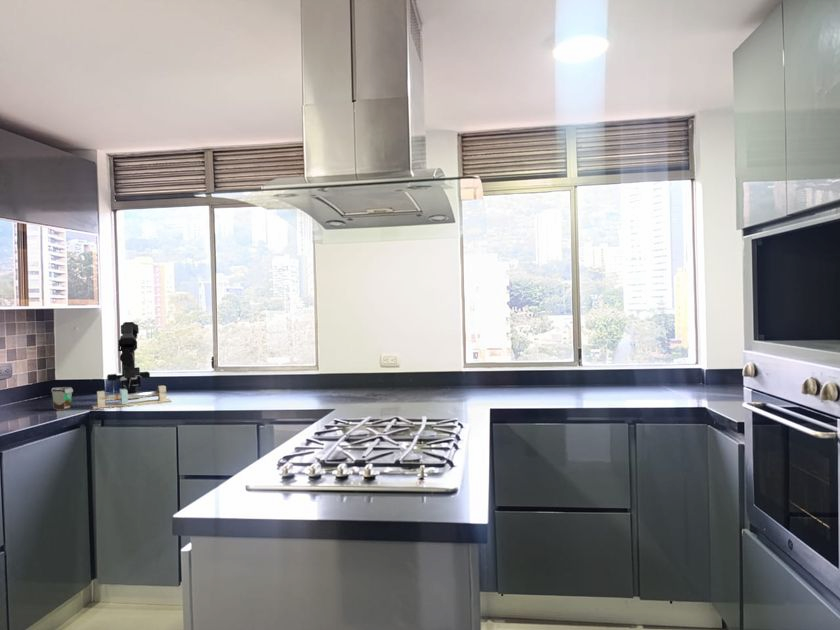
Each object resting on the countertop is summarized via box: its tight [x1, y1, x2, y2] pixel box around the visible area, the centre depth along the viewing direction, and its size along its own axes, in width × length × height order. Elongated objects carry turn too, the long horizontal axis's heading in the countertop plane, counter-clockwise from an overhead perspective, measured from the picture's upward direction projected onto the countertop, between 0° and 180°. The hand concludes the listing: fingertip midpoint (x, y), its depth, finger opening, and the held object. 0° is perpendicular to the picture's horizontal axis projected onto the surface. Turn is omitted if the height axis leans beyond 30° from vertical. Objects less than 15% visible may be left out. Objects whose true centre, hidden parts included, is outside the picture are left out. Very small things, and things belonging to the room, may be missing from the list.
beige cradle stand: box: [91, 385, 172, 410], centre depth 286 cm, size 10×34×8 cm, turn 122°
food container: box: [51, 386, 74, 411], centre depth 280 cm, size 12×6×10 cm, turn 59°
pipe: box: [96, 390, 159, 403], centre depth 286 cm, size 3×30×3 cm, turn 122°
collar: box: [119, 388, 129, 404], centre depth 286 cm, size 11×2×6 cm, turn 32°
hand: (129, 393), depth 291 cm, fingers closed
